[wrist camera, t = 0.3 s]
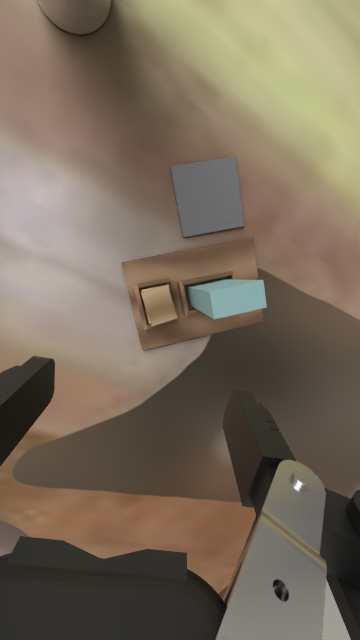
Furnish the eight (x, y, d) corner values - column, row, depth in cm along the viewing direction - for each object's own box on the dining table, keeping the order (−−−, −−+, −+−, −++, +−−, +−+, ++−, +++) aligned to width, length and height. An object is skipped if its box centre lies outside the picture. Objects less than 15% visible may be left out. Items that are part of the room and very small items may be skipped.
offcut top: (141, 292, 34) (141, 293, 31) (166, 284, 34) (167, 285, 32) (151, 323, 35) (151, 326, 32) (175, 315, 35) (177, 318, 33)
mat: (170, 167, 34) (170, 165, 34) (234, 157, 35) (235, 156, 35) (183, 237, 36) (183, 237, 36) (243, 226, 37) (244, 225, 37)
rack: (121, 262, 35) (120, 261, 32) (250, 238, 38) (259, 234, 35) (142, 348, 38) (142, 354, 35) (261, 320, 41) (270, 324, 38)
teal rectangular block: (186, 286, 37) (209, 291, 24) (222, 279, 37) (263, 280, 25) (190, 305, 37) (214, 319, 25) (225, 297, 38) (266, 307, 25)
